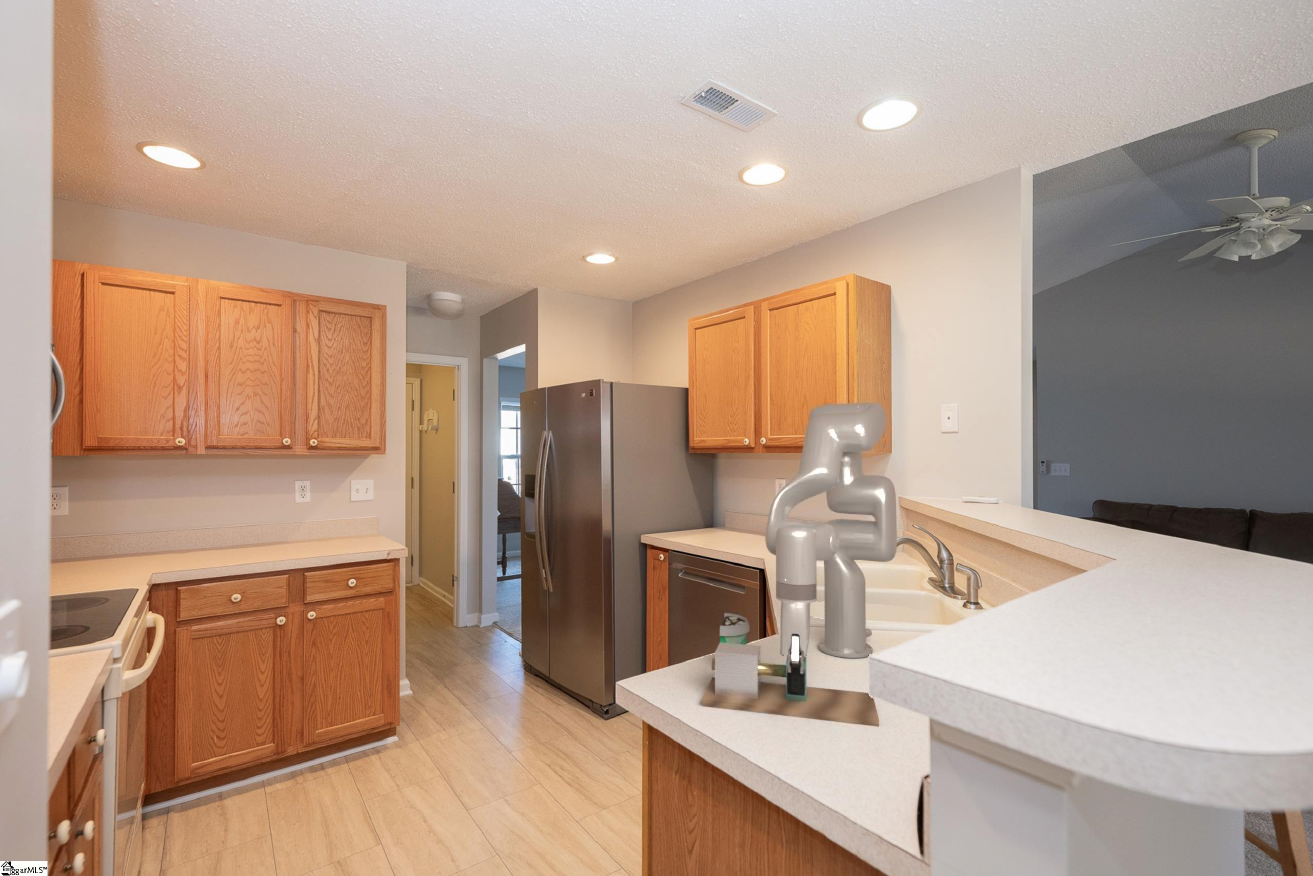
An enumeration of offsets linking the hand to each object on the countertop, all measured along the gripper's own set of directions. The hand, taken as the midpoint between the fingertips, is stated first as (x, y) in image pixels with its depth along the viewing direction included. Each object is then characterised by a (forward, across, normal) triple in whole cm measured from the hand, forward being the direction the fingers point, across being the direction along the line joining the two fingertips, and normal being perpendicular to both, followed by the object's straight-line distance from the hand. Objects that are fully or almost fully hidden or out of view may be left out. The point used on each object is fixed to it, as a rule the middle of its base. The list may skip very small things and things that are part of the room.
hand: (796, 687), depth 111 cm
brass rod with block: (+2, 0, -7) cm, 7 cm away
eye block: (+2, 0, -11) cm, 11 cm away
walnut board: (+3, 0, -2) cm, 3 cm away
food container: (+3, -18, -14) cm, 23 cm away
